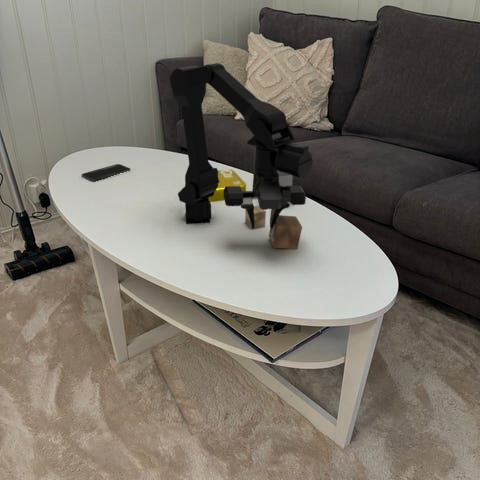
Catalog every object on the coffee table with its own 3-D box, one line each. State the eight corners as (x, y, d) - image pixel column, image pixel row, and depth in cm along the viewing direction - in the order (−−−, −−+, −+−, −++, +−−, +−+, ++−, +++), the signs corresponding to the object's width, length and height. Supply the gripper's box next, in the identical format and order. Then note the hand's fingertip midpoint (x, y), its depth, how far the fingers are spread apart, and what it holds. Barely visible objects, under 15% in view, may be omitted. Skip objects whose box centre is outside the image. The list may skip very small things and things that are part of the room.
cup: (288, 210, 135) (291, 177, 130) (260, 207, 136) (261, 175, 132) (291, 199, 142) (294, 167, 137) (265, 196, 144) (266, 165, 139)
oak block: (251, 230, 124) (251, 213, 121) (245, 224, 127) (245, 207, 124) (264, 228, 125) (265, 211, 123) (258, 222, 128) (259, 205, 126)
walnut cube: (277, 225, 111) (302, 227, 112) (272, 214, 116) (296, 216, 117) (273, 247, 113) (297, 249, 115) (268, 236, 119) (291, 237, 120)
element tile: (188, 186, 151) (187, 172, 149) (232, 181, 156) (232, 167, 153) (200, 204, 139) (199, 189, 137) (247, 198, 143) (248, 183, 141)
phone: (80, 174, 156) (118, 163, 166) (80, 177, 157) (118, 166, 166) (93, 180, 151) (131, 168, 161) (93, 183, 152) (132, 172, 162)
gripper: (229, 179, 98) (227, 245, 106) (315, 179, 101) (308, 242, 108) (224, 162, 108) (222, 223, 115) (302, 162, 111) (296, 221, 118)
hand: (262, 228), depth 114 cm, fingers open, 4 cm apart
